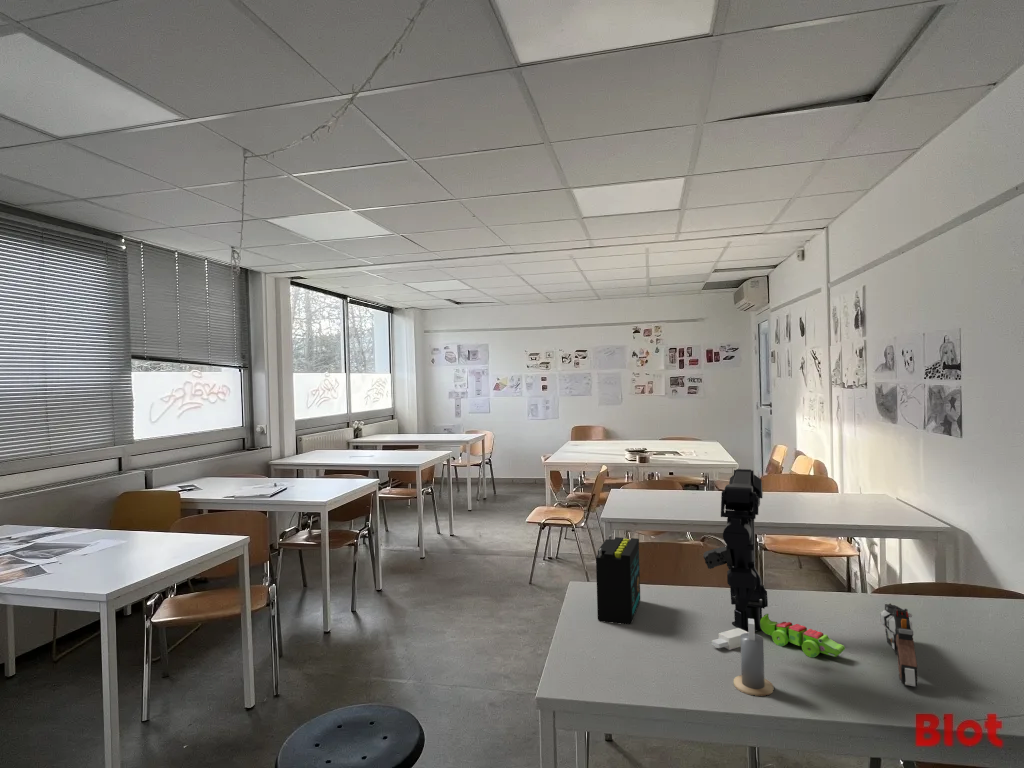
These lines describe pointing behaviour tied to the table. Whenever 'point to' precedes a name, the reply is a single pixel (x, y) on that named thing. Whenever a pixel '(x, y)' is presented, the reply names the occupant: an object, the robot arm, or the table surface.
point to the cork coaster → (757, 692)
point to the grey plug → (752, 658)
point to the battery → (618, 580)
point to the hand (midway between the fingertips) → (742, 603)
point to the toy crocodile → (800, 637)
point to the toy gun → (901, 641)
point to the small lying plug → (729, 639)
